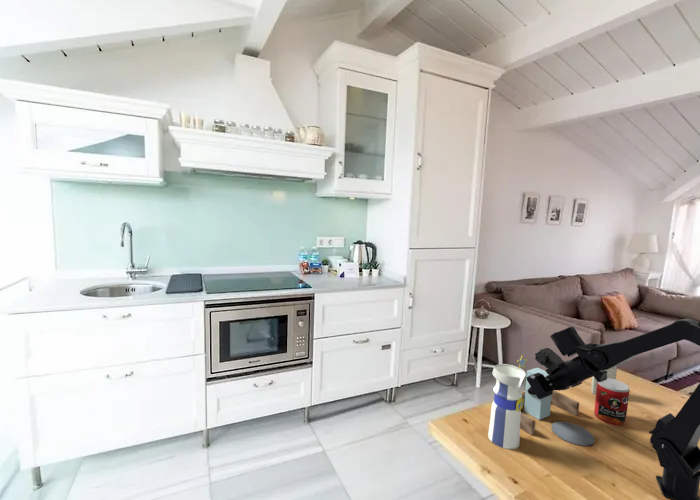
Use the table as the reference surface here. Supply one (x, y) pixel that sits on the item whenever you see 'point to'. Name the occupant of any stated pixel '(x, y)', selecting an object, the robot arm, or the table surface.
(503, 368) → the blue striped jug
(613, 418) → the canned food
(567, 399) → the u-shaped wooden frame
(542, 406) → the block
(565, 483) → the table surface
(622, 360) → the robot arm
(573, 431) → the coaster
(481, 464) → the table surface
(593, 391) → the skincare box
